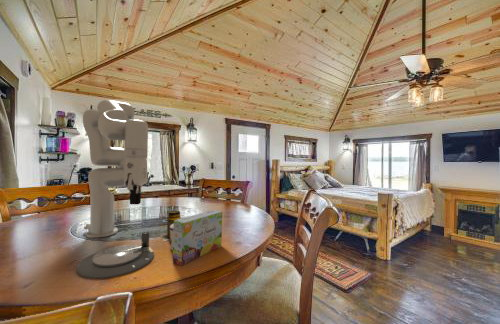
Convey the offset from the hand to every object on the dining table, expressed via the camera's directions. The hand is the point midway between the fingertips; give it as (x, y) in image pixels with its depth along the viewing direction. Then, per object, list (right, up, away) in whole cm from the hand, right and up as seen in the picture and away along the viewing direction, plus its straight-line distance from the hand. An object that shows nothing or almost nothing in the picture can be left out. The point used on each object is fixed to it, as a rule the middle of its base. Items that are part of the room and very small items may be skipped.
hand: (135, 203), depth 80 cm
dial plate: (-5, -20, -3) cm, 21 cm away
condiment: (+6, -20, +21) cm, 30 cm away
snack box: (+23, -20, +4) cm, 31 cm away
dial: (-3, -19, -2) cm, 19 cm away
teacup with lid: (+14, -20, +9) cm, 26 cm away
